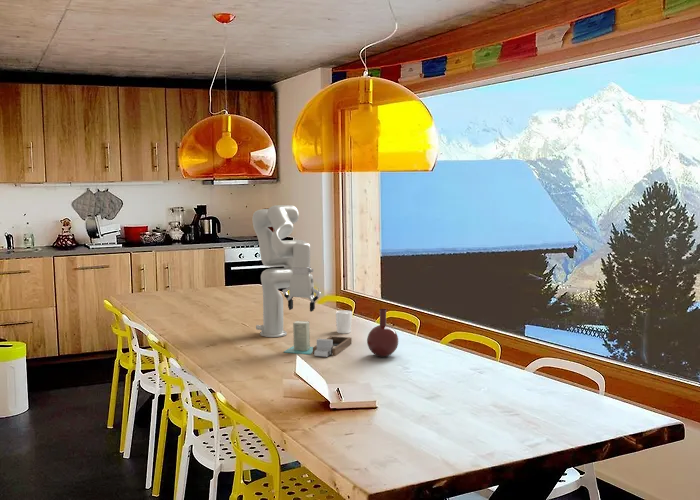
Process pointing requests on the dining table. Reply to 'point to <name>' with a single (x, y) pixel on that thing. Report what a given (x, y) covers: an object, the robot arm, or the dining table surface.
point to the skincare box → (301, 335)
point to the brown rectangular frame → (343, 344)
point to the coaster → (299, 351)
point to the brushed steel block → (324, 347)
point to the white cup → (343, 321)
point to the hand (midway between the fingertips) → (301, 310)
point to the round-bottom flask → (382, 338)
